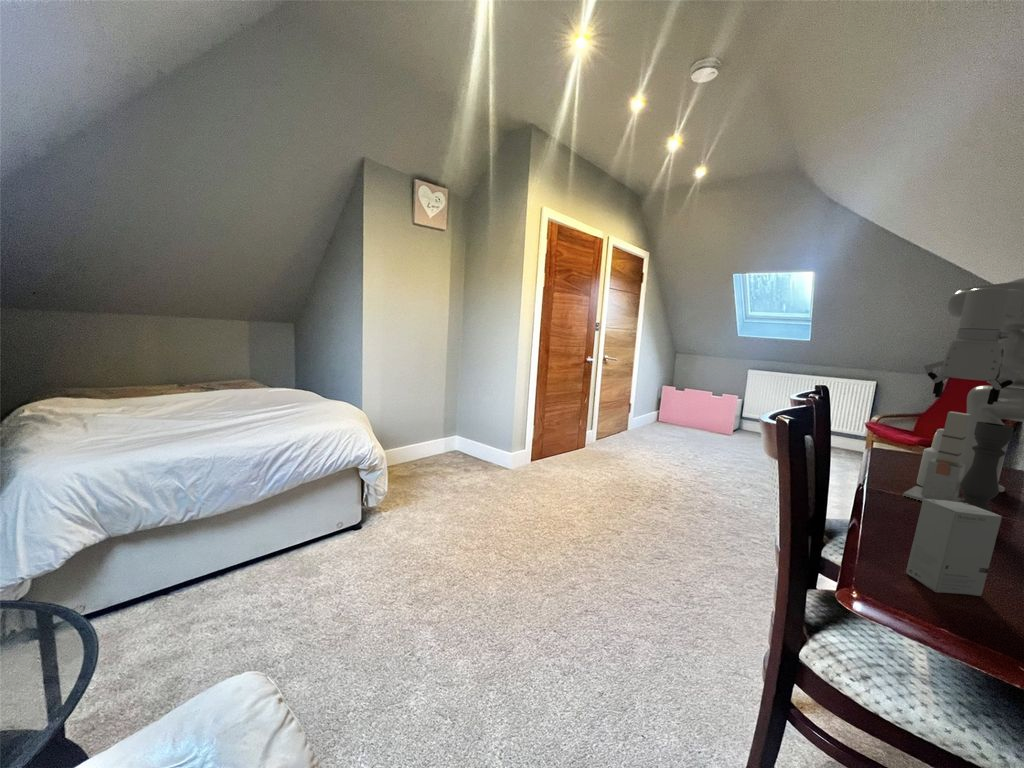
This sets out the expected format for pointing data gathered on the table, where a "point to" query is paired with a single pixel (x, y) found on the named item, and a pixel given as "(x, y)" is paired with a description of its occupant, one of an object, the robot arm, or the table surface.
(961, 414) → the jack column
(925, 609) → the table surface
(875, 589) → the table surface
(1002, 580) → the table surface
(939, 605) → the table surface
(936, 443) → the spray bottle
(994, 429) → the candle holder
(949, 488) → the white blocky piece
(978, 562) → the skincare box
